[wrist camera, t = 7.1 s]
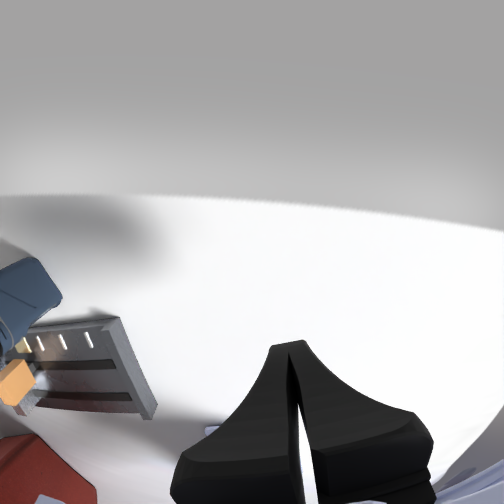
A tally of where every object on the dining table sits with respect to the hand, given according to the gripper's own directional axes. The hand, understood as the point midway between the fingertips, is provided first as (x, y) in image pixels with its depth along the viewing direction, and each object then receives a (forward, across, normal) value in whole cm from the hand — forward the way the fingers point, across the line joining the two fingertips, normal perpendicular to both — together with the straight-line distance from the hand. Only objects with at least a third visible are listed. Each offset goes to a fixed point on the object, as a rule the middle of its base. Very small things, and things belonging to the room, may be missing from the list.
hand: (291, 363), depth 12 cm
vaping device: (+10, +19, -3) cm, 22 cm away
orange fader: (+9, +25, +4) cm, 27 cm away
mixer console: (+10, +22, +6) cm, 24 cm away
